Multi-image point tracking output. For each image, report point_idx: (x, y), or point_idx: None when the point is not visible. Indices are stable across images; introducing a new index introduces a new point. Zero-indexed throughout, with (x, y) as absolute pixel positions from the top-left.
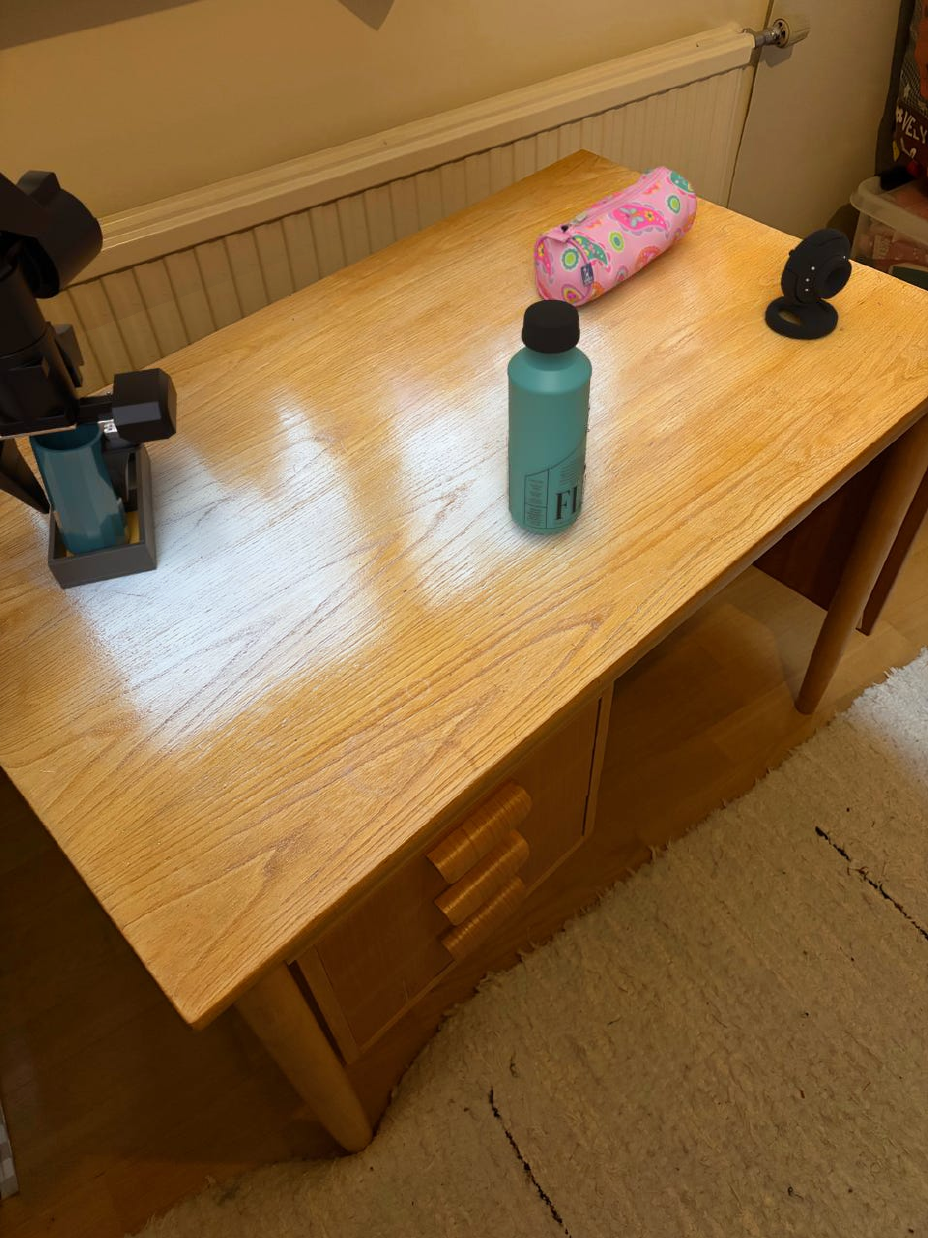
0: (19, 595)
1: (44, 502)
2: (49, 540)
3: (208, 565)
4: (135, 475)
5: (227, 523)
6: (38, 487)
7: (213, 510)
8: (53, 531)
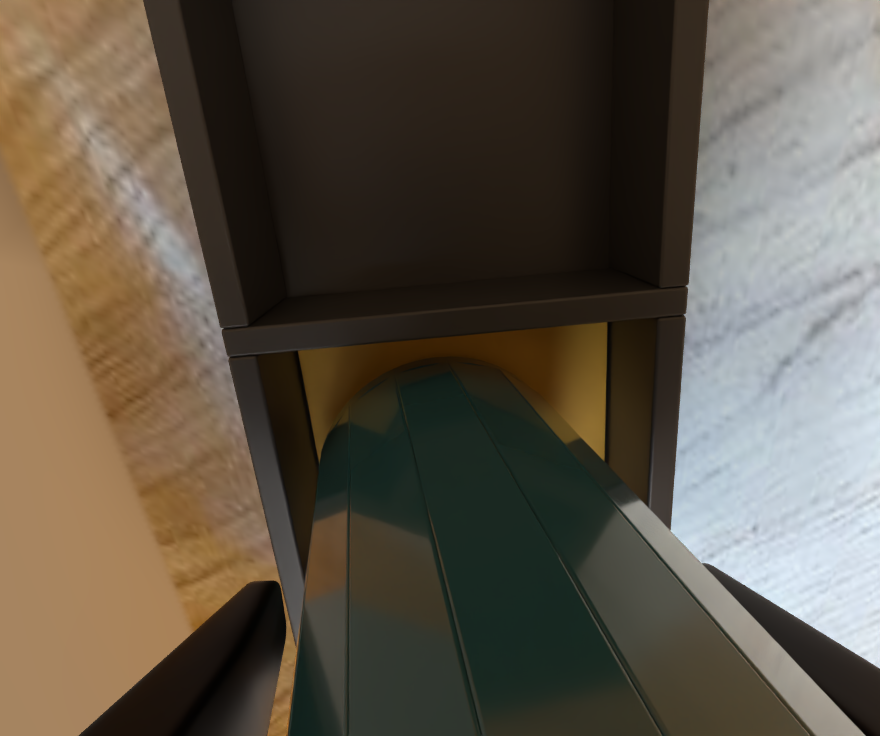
0: (198, 576)
1: (264, 679)
2: (280, 568)
3: (766, 561)
4: (569, 15)
5: (872, 397)
6: (218, 733)
7: (844, 319)
8: (286, 528)
